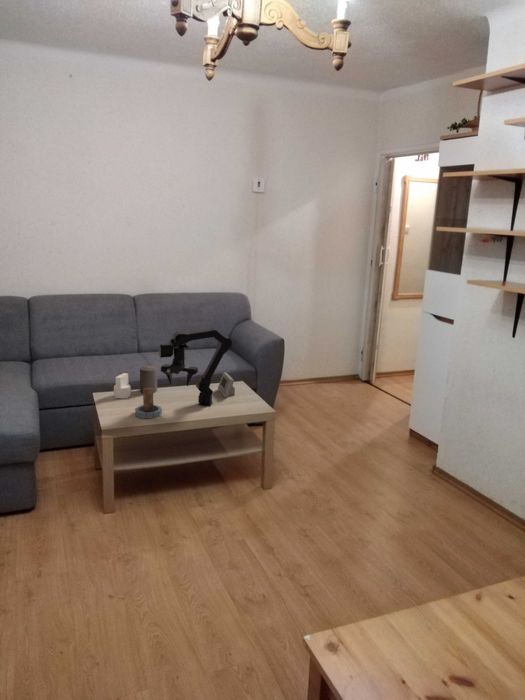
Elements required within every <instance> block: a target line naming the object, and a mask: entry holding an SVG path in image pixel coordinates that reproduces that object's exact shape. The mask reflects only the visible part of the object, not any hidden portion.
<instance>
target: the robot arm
mask: <svg viewBox="0 0 525 700" xmlns="http://www.w3.org/2000/svg"><path fill="white" fill-rule="evenodd" d="M210 338H214V339H215V340H217V343H216V350H215V352H214V354H213V355H212V357H211V360H210V362H209V364H208V365H207V367H206V369H205V370H204V372H203V374H198V376H197V379H196V380H195V387H196V389H197V390H198V391H199V393H198V394H199V395H198V406H202V407H203V406H204V407H210V406H211V405H212V404H214V402H213V394H214V391H213V390H212V388H210V386H211V383H212V377H213V376H214V373H215V372H216V370H217V368H218V366H219V364H220V362H221V360H222V358H223V357H224V355H225V354H226V353H227V352H228V351H229V350H230V349H231V347H232V346H233V341H232V339H231V338H229V337H228V336H226V335H222V334H221V333H220V332H219V331H218V330H217V329H215V328H210V329H204V330H198V331H197V330H196V331H189V332H188V331H175V332H174V333H173V335H172V337H171V339H170V340H169V342H168V344H167V343H166V344H165V343H163V344H162V343H160V344H159V347H158V357H159V358H160V359H161V358H162V359H163V358H171V357H173V359H172V363H171V364H166V363H164V364H163V365H161V366H160V372H161V373H162V374H165V375H166V377H167V379H168V381H169V382H168V383H169V385H172V383H173V374H176V375H178V374H180V372H186V373H187V374H186V377H187V378H186V386H187V387H189V386H190V382H191V380H192V377H193V376H195V375H197V373H198V372H199V368H198V367H197V366H189V367H188V368H187V367H186V364H185V362H186V357H185V356H186V354H185V352H186V349H189V348H190V346H189V345H188V343H189V342H193V341H197V340H203V339H210Z"/></svg>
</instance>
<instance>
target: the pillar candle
mask: <svg viewBox="0 0 525 700" xmlns="http://www.w3.org/2000/svg"><path fill="white" fill-rule="evenodd" d="M139 388H140V389H139V392H140V393H141V394H143V389H144V388H153V394H154V393H155V394H156V393H157V392H158V368H157V367H156V366H153V365H144V366H141V367H140V368H139Z"/></svg>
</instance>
